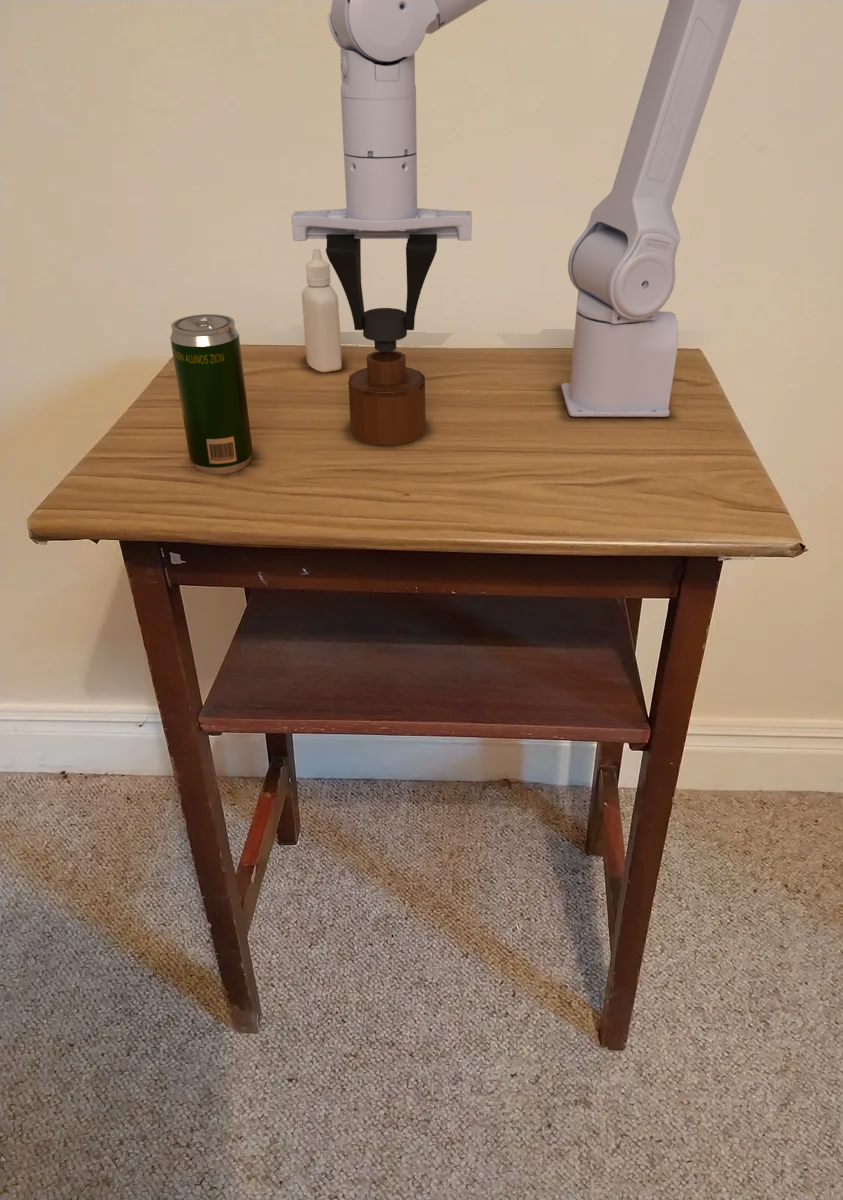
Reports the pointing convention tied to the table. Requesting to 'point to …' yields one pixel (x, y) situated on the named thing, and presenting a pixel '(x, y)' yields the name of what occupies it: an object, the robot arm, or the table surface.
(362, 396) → the amber bottle
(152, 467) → the table surface
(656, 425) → the table surface
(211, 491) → the table surface
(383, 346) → the cylinder
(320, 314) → the eye dropper bottle
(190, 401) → the beer can
